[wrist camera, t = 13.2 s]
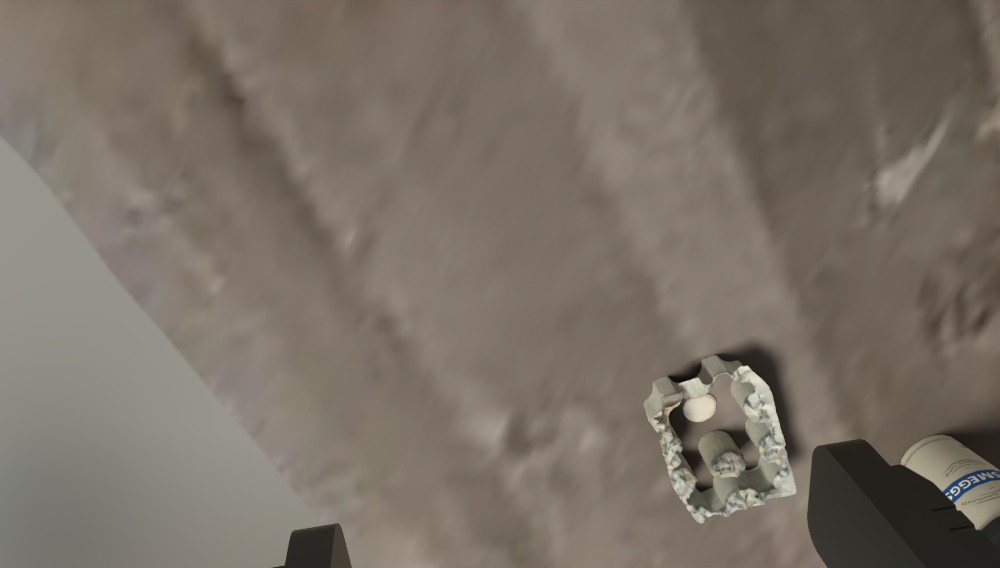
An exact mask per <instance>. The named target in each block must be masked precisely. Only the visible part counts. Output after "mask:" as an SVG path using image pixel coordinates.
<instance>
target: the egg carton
mask: <svg viewBox="0 0 1000 568" xmlns="http://www.w3.org/2000/svg"><path fill="white" fill-rule="evenodd" d="M701 362H702V366H701V370H700V373H699V374H698V375H697V376H696V377H695V378H694V379H691V380H688V381H685V382H682V383H676V382H673V381H672V380H671V379H670V378H669V377H668V376H665V377H662V378H660V379H658V380H655V381H653V391H652V394H651V396H650V397H649V398H648V399H647V400H646V401H645V402H644V408H645V410H646V415H647V417H648V420H649V422H650V423H651V424H652V426H653V427H654V429H655V430H656V431H657V432H658V433H659V434H660V437H661V440H660V441H659V442H660V445H661V447H662V451H663V456H664V459H665V462H666V464H667V467H668V473H669V477H670V481H671V483H672V485H673V488H674V490H675V491H676V493H677V494H678V496H679V497H680V499H681V500H682V501H683V503H684V504H685V506H686V507H687V509H688V510H689V512H690V513H691V514H692V516H693V517H694V519H695V520H696V521H697V522H698V523H701V524H702V523H705V522H706V521H707V518H708V517H710V516H712V515H716V514H721V515H723V516H725V517H728V516H730V515H731V514H732V513H733V512H734V511H735V510H744V509H745V510H747V509H748V508H750V507H752V506H757V505H765V502H766V501H767V500H768V499H769V498H770V497H784V496H789V495H793V494H796V487H795V483H794V479H793V475H792V471H791V467H790V465H789V462H788V458H787V456H788V454H787V452H786V450H785V445H786V443H785V440H784V437H783V434H782V431H781V428H780V423H779V419H778V416H777V413H776V409H775V404H774V400H773V395H772V392H771V390H770V388H769V386H768V385H767V384H766V383H765V382H764V381H763V380H762V379H761V378H760V377H759V376H758V375H757V374H755V373H754V372H753V371H752V370H751V369H750V368H749V367H748V366H743V365H742V364H741V362H740V361H732V362H726V361H723V360H721V359H720V358H719V357H718V356H717V355H713V356H710V357H708V358H704V359H703V360H702V361H701ZM721 374H729V375H730V377H731V378H733V379H734V380H733V382H732V384H731V393H732V395H733V397H734V398H735V399H736V401H737V402H738V404H739V405H740V407H741V408H742V410H743V411H744V413H745V414H746V415H747V416H748V420H747V422H746V424H745V430H746V433H747V435H748V436H749V437H750V439H751V441H752V442H753V443H754V445H755V446H756V448H757V449H758V451H759V454H760V458H759V461H758V466H757V467H756V468H754V469H751V470H746V469H745V467H746V461H745V459H744V457H743V455H742V453H741V452H740V450H739V449H738V447H737V446H736V444H735V443H734V441H733V440H732V438H731V437H730V435H728V434H727V433H725V432H723V431H718V430H716V431H712V432H709V433H707V434H706V435H705V436H703V437H702V439H701V440H700V442H699V447H698V449H699V453H700V454H701V456H702V458H703V460H704V461H705V463H706V465H707V466H708V468H709V470H710V472H711V473H712V475H713V476H715V477H714V479H713V487H712V488H710V489H707V490H705V491H703V492H700V491H698V490H697V489H696V488H695V483H696V482H697V481H698V480H697V478H696V476H695V475H694V474H693V472H692V470H691V468H690V466H689V465H688V463H687V461H686V460H685V458H684V456H683V455H682V454H681V452H682V449H683V447H682V445H681V443H682V441H681V440H680V439H679V438H678V436H677V435H676V433H675V431H674V430H673V428H672V426H671V424H670V423H669V413H670V412H671V411H672V410H673V408H675V407H677V406H679V404H680V403H681V401H682V399H683V398H685V399H688V400H687V401H686V402H685V404H684V407H683V414H684V415H685V417H686V418H687V419H688V420H690V421H693V422H702V421H705V420H707V419H709V418H710V417H711V416H712V415H713V414H714V412H715V410H716V400H715V398H714V397H713V396H712V395H710V394H708V392H709V391H710V390H711V388H712V386H713V382H715V378H716V377H717V376H718V375H721Z"/></svg>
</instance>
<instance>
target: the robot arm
mask: <svg viewBox="0 0 1000 568" xmlns="http://www.w3.org/2000/svg"><path fill="white" fill-rule="evenodd" d="M807 520H808V528H809V532H810V536H811V539H812V542H813V544H814V546H815V549H816V550H817V552H818V554H819V556H820V557H821V559H822V560H823V562H824V563H825V564H826V566H827V567H828V568H1000V550H999V549H998V548H997V547H996V546H995V545H994V544H993V543H992V542H991V541H990V540H989V539H988V538H987V537H986V536H985V535H984V534H983V533H982V532H981V531H980V530H976V529H975V525H974V524H973V523H972V522H971V520H970V519H969V518H968V517H967V516H966V515H965V514H964V513H963V512H962V511H961V510H959V511H958V510H957V509H956V505H955V504H954V503H953V502H952V501H951V500H950V499H949V498H948V497H947V496H946V495H945V494H944V493H943V492H942V491H941V490H940V489H939V488H938V487H937V486H936V485H935V484H934V483H933V482H932V481H930V480H928V479H926V478H925V477H923V476H921V475H919V474H918V473H916V472H914V471H912V470H911V469H909V468H907V467H905V466H904V465H902V464H900V465H894V466H890V465H889V464H888V463H887V462H886V461H885V460H884V459H883V458H882V457H881V456H880V455H879V454H878V453H877V451H876V450H875V449H874V448H873V447H872V446H871V445H870V444H869V443H868V442H866V441H865V440H862V439H857V440H851V441H845V442H839V443H833V444H827V445H821V446H817V447H816V448H815V449H814V451H813V455H812V465H811V477H810V489H809V501H808V513H807ZM274 568H352V567H351V563H350V559H349V555H348V551H347V547H346V543H345V539H344V535H343V532H342V529H341V526H340V525H339V524H338V523H337V524H331V525H325V526H318V527H313V528H307V529H300V530H295V531H293V532H292V533H291V536H290V541H289V546H288V551H287V557H286V562H285V566H280V567H274Z"/></svg>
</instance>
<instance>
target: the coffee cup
mask: <svg viewBox="0 0 1000 568" xmlns="http://www.w3.org/2000/svg"><path fill="white" fill-rule="evenodd" d="M901 464H902V465H904V466H905V467H907V468H909V469H911V470H912V471H914V472H916V473H918V474H919V475H921V476H923V477H925V478H926V479H928V480H930V481H932V482H933V483H934V484H935V485H936V486H937V487H938V488H939V489H940V490H941V491H942V492H943V493H944V494H945V495H946V496H947V497H948V498H949V499H950V500H951V501H952V502H953V503H954V504H955V505H956V509H957V510H958V511H959V510H961V511H962V512H963V513H964V514H965V515H966V516H967V517H968V518H969V519H970V520H971V522H972V523H973V524H974V525H975V529H976V530H980V531H981V532H982V533H983V534H984V535H985V536H986V537H987V538H988V539H989V540H990V541H991V542H992V543H993V544H994V545H995V546H996V547H997V548H998V549H999V550H1000V470H999V469H997V468H996V467H994V466H993V465H991V464H990V463H989V462H987V461H986V460H984V459H983V458H981V457H980V456H978V455H977V454H975V453H974V452H973V451H971V450H970V449H968V448H967V447H965V446H964V445H962V444H961V443H959V442H958V441H957V440H955V439H954V438H952V437H950V436H946V435H933V436H930V437H927V438H924V439H922V440H920V441H919V442H917V443H916V444H914V445H913V446H912V447H911V448H910V449H909V450H908V451H907V452H906V453H905V455H904V457H903V458H902V460H901Z"/></svg>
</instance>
